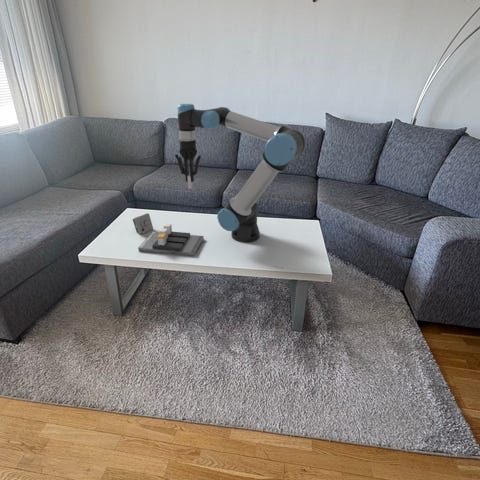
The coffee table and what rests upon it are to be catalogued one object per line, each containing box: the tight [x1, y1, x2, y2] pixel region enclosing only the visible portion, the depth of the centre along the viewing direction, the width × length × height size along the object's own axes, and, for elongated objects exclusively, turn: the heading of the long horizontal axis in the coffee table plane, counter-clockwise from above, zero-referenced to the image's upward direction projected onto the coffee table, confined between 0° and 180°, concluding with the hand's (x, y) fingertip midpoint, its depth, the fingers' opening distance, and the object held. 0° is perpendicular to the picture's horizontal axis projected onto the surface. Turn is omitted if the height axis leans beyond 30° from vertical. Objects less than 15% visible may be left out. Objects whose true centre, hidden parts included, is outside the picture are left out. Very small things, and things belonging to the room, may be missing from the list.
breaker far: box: [163, 223, 173, 234], centre depth 170 cm, size 3×3×4 cm
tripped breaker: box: [157, 234, 166, 245], centre depth 159 cm, size 3×3×4 cm
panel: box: [137, 231, 205, 258], centre depth 166 cm, size 28×18×4 cm, turn 81°
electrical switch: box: [132, 213, 154, 235], centre depth 179 cm, size 9×5×9 cm, turn 141°
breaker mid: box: [158, 227, 168, 239], centre depth 165 cm, size 3×3×4 cm
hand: (190, 187), depth 165 cm, fingers closed
